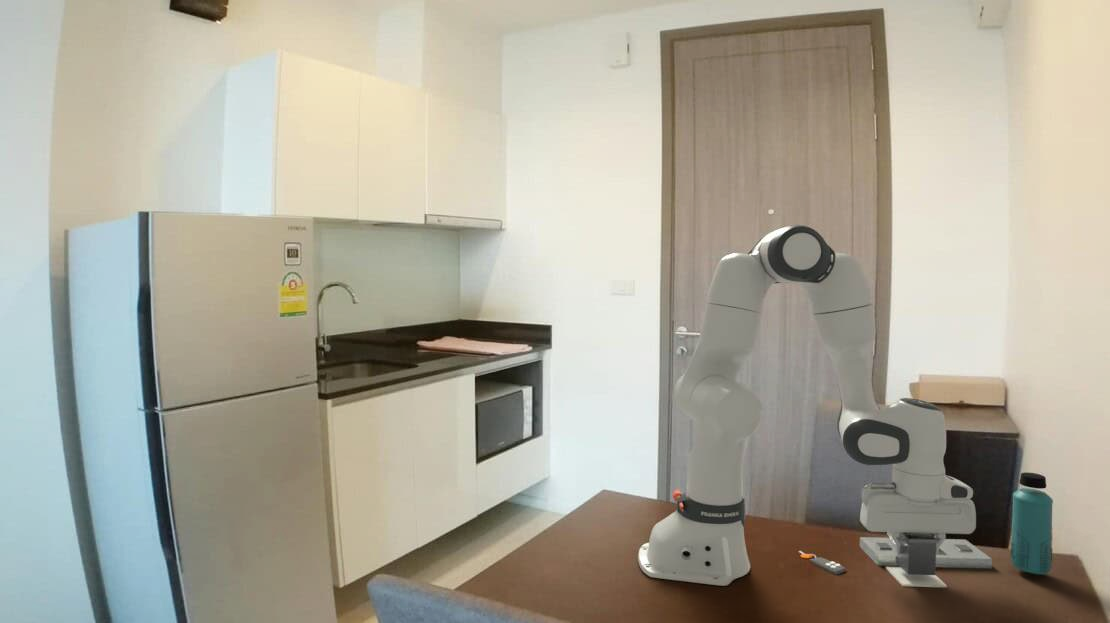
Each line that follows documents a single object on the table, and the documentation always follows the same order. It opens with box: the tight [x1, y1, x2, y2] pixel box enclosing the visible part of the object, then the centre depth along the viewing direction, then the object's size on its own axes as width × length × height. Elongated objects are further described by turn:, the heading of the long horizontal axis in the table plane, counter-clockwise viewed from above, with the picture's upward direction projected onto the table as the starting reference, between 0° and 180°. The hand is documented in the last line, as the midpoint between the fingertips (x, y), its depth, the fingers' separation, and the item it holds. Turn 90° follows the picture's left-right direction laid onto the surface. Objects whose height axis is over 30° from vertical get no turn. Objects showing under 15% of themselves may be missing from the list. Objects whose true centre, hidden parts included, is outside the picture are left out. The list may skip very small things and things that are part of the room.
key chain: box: [798, 550, 846, 575], centre depth 129 cm, size 13×4×2 cm, turn 31°
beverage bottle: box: [1009, 471, 1054, 575], centre depth 122 cm, size 6×7×20 cm
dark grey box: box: [896, 532, 938, 575], centre depth 121 cm, size 5×5×7 cm
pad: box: [885, 566, 948, 589], centre depth 121 cm, size 8×7×1 cm
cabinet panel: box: [859, 536, 993, 569], centre depth 130 cm, size 22×9×2 cm, turn 86°
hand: (915, 553), depth 121 cm, fingers closed on dark grey box, 5 cm apart
